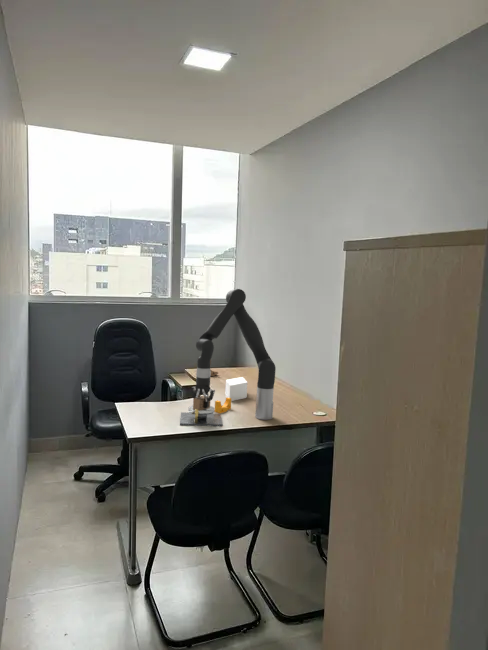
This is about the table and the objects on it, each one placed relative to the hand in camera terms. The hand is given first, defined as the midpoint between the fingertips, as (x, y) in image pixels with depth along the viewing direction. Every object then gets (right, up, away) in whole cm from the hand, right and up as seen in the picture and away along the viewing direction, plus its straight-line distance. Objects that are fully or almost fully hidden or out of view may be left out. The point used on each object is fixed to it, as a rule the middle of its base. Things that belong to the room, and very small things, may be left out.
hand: (201, 407), depth 265 cm
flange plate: (-1, -2, -1) cm, 3 cm away
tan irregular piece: (-7, +5, +117) cm, 117 cm away
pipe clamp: (+11, -6, +21) cm, 25 cm away
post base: (-1, -7, 0) cm, 7 cm away
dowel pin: (-2, -8, -8) cm, 11 cm away
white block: (+17, -3, +56) cm, 59 cm away
